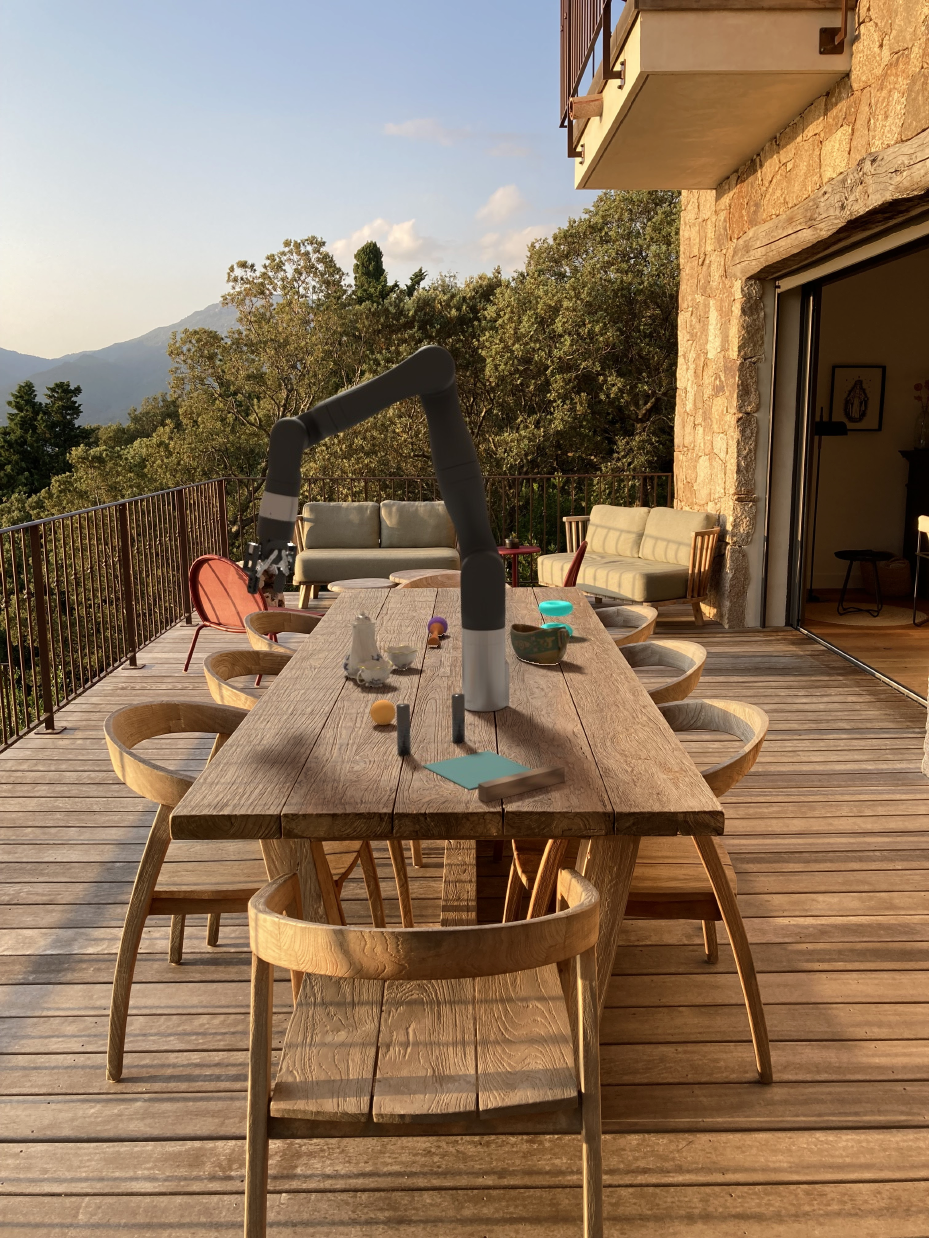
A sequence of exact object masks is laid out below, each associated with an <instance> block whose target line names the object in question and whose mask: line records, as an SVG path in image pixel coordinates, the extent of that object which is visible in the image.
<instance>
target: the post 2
mask: <svg viewBox="0 0 929 1238" xmlns="http://www.w3.org/2000/svg"><path fill="white" fill-rule="evenodd" d="M465 710H466V709H465V695H464V694H462V692H460V693H459V692H458V693H452V694H451V733H452V734H451V741H452V743H453V744H464V743H465V742H466V718H465V717H466V715H465V714H466V711H465Z"/></svg>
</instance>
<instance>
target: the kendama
mask: <svg viewBox="0 0 929 1238" xmlns="http://www.w3.org/2000/svg"><path fill="white" fill-rule="evenodd" d="M448 624H449V623H448V621H447V620H446V619H445V618H444V617H442V616H434V617H431V619H429V621H428V622H427V632H428V633H429V634H430V633H431V634H432V635H431V634H430V637H429V638H428V639H427V646H428V645H439V646H440V638H439V637H438V635H442V634H443V633H445V634H447V632H448V629H449V628H448V627H449V625H448Z"/></svg>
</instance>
